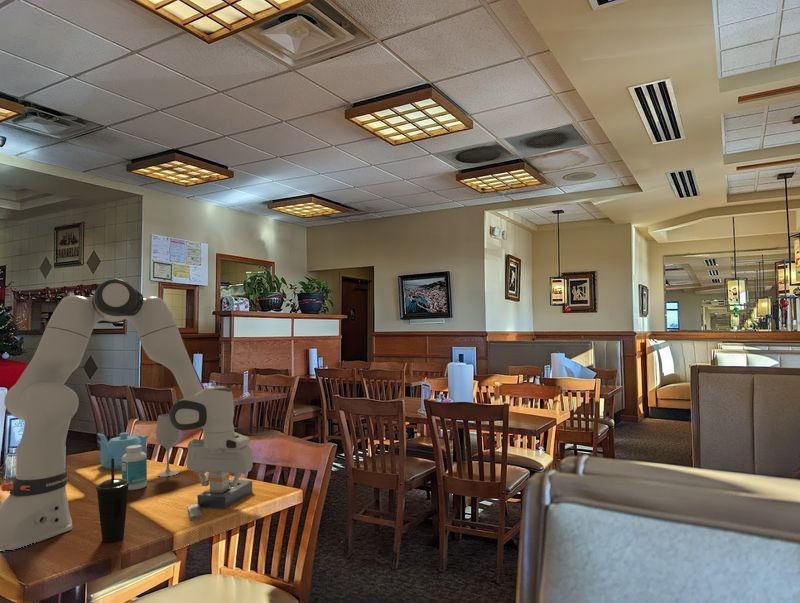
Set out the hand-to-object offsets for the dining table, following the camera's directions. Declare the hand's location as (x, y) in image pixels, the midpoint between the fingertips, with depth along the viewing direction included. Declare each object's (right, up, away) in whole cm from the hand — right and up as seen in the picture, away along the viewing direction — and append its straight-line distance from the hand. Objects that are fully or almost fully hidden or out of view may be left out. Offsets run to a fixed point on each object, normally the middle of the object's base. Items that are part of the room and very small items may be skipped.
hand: (219, 486), depth 166 cm
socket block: (+1, -5, +3) cm, 6 cm away
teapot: (-53, -8, +47) cm, 71 cm away
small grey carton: (0, -5, 0) cm, 5 cm away
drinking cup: (-18, -5, -26) cm, 32 cm away
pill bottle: (-34, -6, +17) cm, 39 cm away
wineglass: (-29, -7, +33) cm, 44 cm away
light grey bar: (-4, -5, -9) cm, 11 cm away
